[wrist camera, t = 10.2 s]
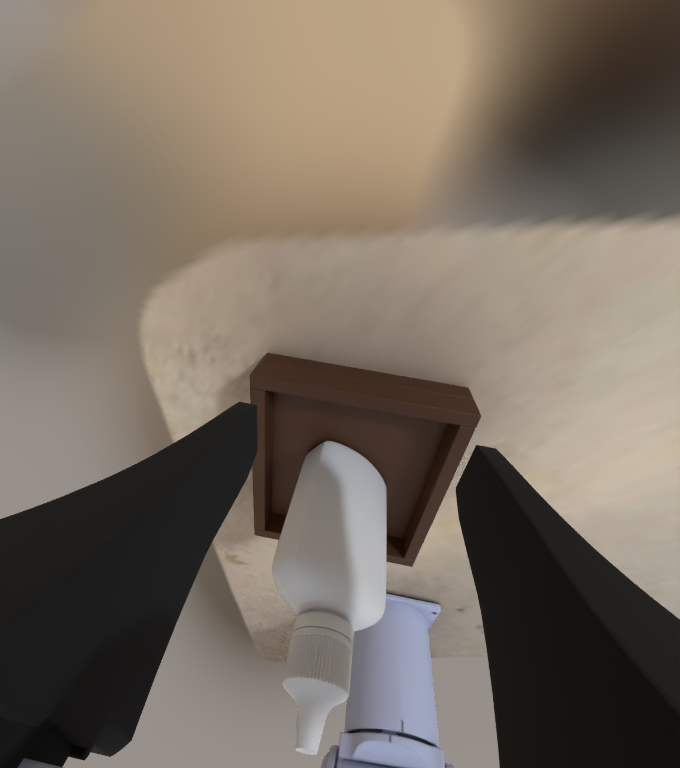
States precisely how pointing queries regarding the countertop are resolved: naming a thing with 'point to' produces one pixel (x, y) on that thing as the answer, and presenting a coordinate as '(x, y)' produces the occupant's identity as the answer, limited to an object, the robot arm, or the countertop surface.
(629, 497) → the countertop surface
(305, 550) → the eye dropper bottle
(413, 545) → the tray
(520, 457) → the countertop surface
